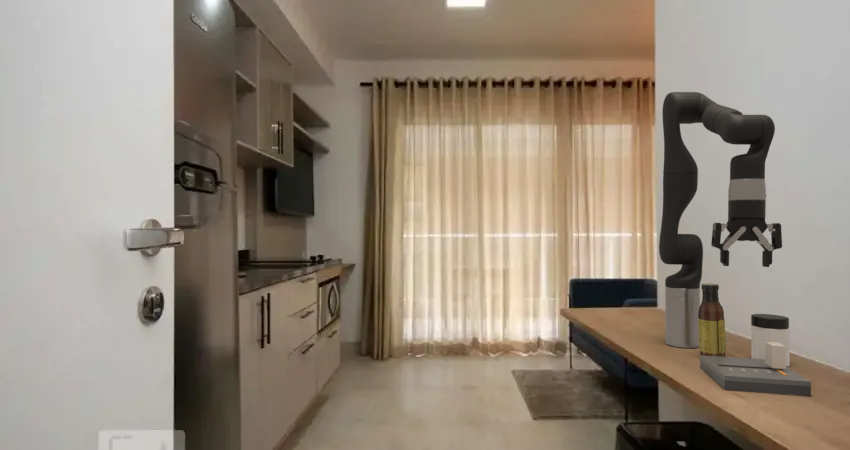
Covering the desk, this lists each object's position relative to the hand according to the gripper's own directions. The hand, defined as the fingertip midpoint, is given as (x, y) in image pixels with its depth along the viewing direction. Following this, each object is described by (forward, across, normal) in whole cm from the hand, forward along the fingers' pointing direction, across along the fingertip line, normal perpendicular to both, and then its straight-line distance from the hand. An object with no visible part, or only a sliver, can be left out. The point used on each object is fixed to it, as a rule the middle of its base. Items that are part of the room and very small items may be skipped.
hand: (745, 266), depth 119 cm
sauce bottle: (+26, +3, -14) cm, 30 cm away
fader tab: (+23, -4, +7) cm, 24 cm away
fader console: (+26, +1, +7) cm, 26 cm away
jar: (+26, -10, -12) cm, 31 cm away
